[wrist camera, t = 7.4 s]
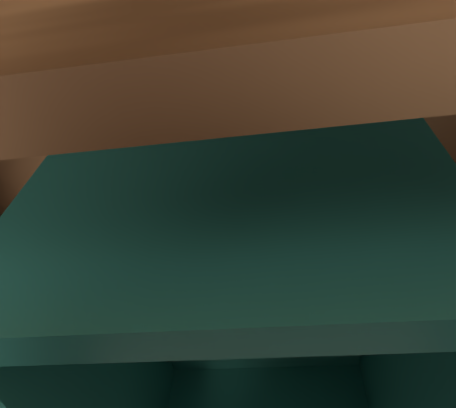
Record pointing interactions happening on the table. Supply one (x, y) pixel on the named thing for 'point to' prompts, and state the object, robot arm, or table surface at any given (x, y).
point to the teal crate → (235, 274)
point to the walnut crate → (214, 72)
